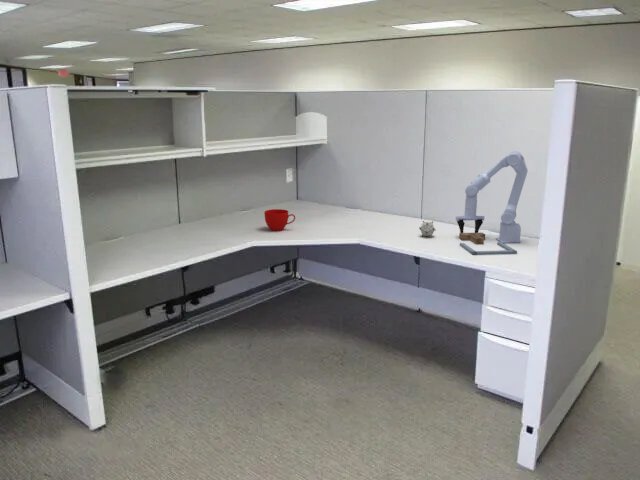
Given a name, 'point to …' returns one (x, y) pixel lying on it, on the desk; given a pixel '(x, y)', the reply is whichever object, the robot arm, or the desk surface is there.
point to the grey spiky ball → (427, 229)
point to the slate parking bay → (507, 251)
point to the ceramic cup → (277, 219)
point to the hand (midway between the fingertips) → (468, 234)
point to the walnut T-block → (473, 237)
